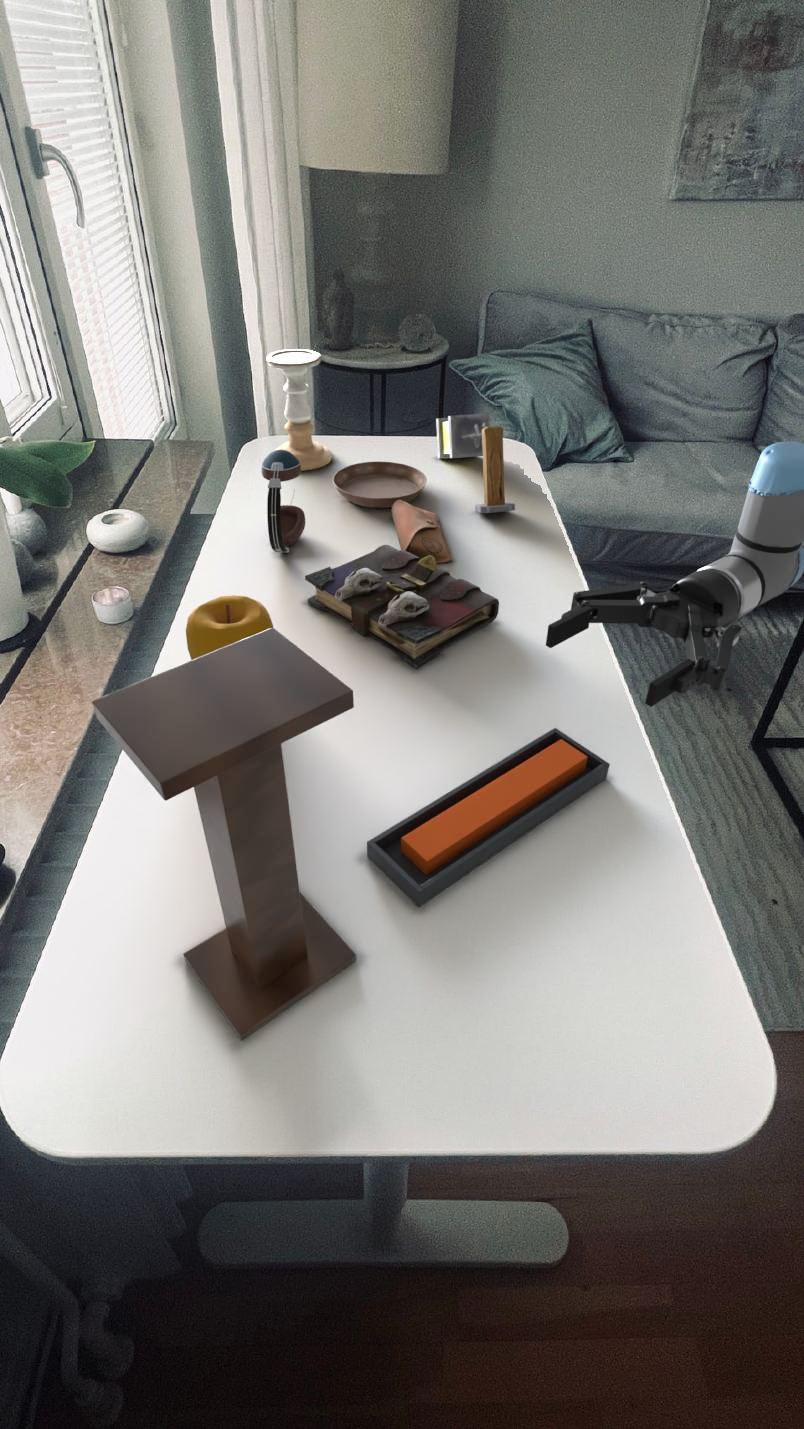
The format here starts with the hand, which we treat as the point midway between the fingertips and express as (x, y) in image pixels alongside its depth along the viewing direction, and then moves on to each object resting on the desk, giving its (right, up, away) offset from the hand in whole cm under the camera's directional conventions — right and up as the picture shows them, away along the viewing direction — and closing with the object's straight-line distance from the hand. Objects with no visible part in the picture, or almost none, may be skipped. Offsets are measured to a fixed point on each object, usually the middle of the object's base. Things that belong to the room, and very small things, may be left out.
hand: (597, 664), depth 84 cm
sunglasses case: (-18, +25, +52) cm, 60 cm away
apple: (-42, -2, +19) cm, 46 cm away
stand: (-33, -28, -12) cm, 44 cm away
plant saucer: (-25, +37, +67) cm, 80 cm away
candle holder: (-41, +47, +80) cm, 101 cm away
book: (-21, +10, +34) cm, 41 cm away
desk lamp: (-7, +39, +70) cm, 81 cm away
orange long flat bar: (-10, -16, +2) cm, 19 cm away
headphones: (-40, +25, +52) cm, 71 cm away
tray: (-11, -16, +2) cm, 20 cm away
